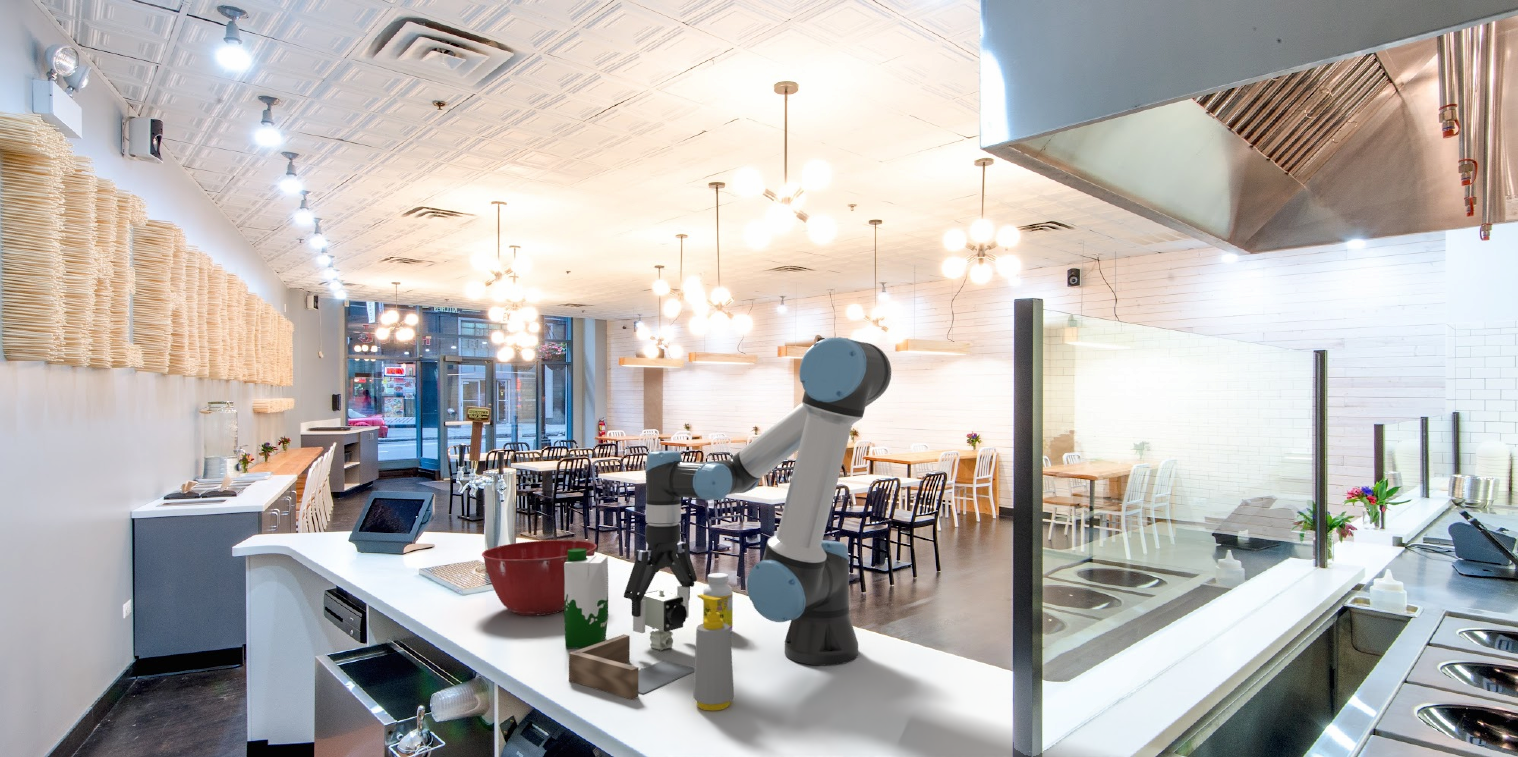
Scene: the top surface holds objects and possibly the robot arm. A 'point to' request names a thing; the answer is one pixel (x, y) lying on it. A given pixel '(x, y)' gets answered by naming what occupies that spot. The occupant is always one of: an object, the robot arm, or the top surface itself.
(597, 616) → the milk carton
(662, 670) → the slate pad
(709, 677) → the soap bottle
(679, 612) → the pneumatic valve
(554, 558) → the mixing bowl
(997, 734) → the top surface
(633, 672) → the walnut corner
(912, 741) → the top surface
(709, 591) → the supplement bottle
